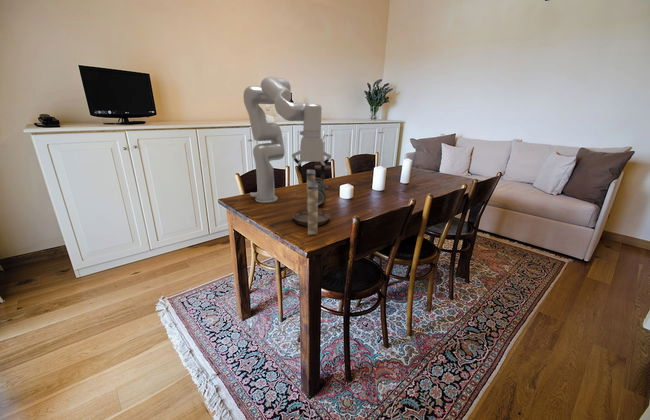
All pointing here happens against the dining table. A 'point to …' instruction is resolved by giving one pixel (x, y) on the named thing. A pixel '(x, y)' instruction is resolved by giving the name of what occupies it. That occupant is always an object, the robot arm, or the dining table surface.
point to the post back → (310, 180)
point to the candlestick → (324, 166)
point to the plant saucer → (303, 217)
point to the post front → (312, 208)
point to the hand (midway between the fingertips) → (311, 173)
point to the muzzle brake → (320, 190)
